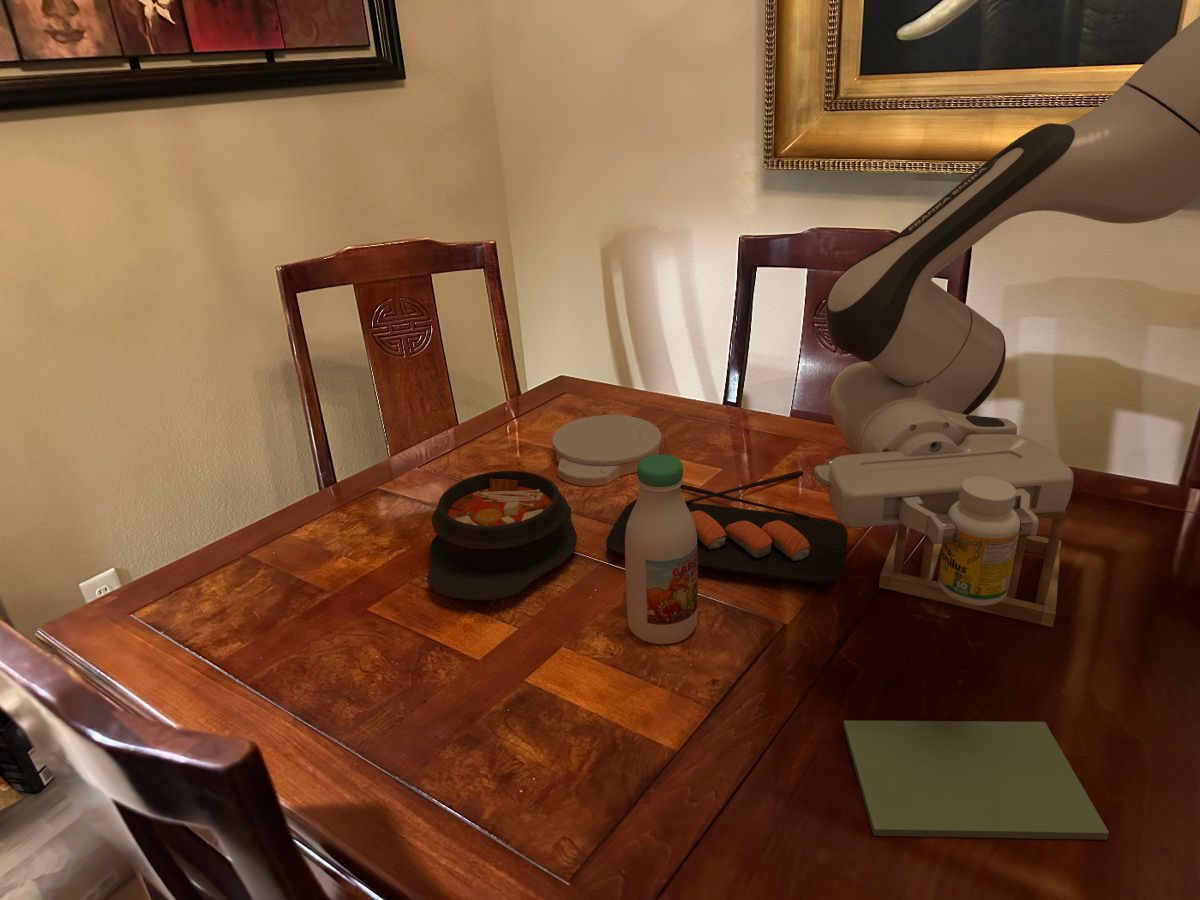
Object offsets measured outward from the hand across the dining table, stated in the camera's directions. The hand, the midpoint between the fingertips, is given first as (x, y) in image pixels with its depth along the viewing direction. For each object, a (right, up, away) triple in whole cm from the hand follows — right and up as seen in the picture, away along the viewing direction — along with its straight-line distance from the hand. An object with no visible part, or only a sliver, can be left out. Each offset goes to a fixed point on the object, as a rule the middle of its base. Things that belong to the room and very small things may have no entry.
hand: (988, 532), depth 67 cm
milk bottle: (-24, -13, +26) cm, 38 cm away
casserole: (-43, -7, +41) cm, 60 cm away
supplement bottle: (0, -5, +4) cm, 6 cm away
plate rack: (+13, -8, +33) cm, 36 cm away
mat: (0, -22, +5) cm, 22 cm away
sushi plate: (-12, -3, +46) cm, 48 cm away
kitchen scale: (-30, +5, +65) cm, 72 cm away
